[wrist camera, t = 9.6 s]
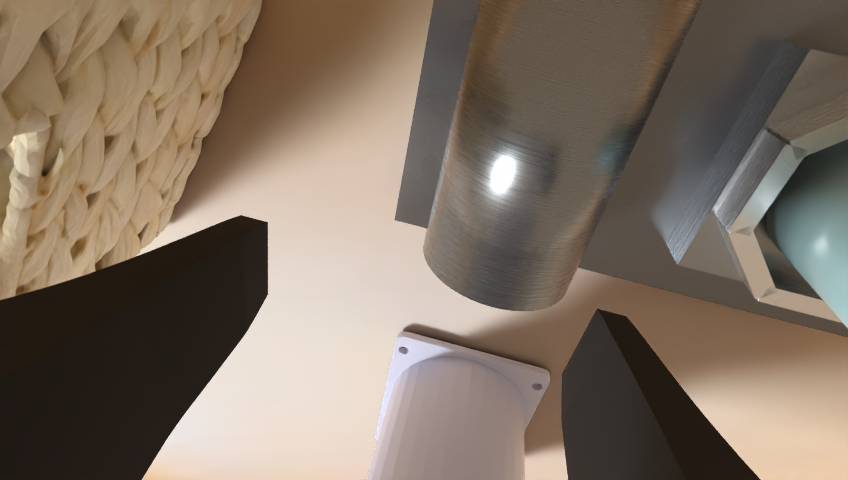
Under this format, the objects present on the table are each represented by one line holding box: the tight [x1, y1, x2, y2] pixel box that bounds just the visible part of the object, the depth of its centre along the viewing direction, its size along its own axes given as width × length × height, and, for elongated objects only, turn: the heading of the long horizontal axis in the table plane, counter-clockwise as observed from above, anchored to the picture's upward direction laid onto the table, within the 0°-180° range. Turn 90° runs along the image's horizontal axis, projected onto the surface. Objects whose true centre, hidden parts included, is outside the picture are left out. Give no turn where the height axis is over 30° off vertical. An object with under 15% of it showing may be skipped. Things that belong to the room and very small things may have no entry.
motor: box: [395, 0, 848, 337], centre depth 13 cm, size 11×18×6 cm, turn 79°
